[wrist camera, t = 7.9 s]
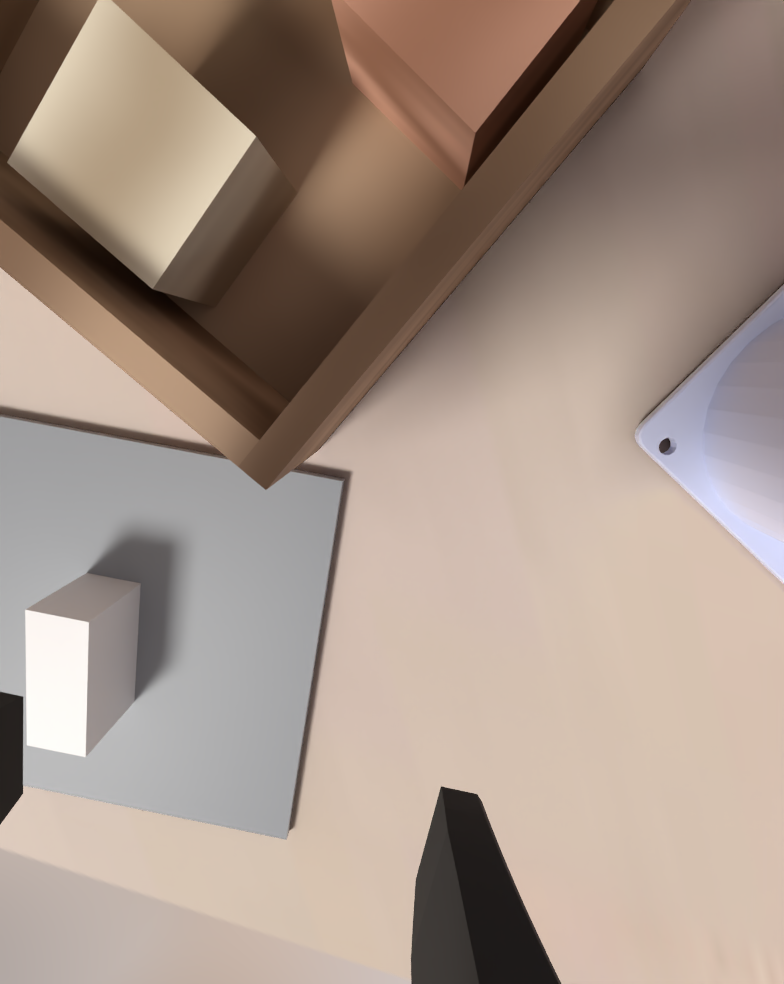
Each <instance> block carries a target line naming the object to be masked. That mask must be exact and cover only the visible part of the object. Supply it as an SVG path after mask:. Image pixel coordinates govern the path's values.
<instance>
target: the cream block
mask: <svg viewBox="0 0 784 984" xmlns="http://www.w3.org/2000/svg"><path fill="white" fill-rule="evenodd" d="M7 163H8V164H9V165H10V166H11V167H13V168H14V169H15V170H16V171H17V172H18V173H19V174H21V175H22V176H23V177H24V178H25V179H26V180H27V181H29V182H30V183H31V184H32V185H33V186H34V187H36V188H37V189H38V190H39V191H40V192H41V193H42V194H44V195H45V196H46V197H47V198H48V199H49V200H50V201H52V202H53V203H54V204H55V205H56V206H57V207H59V208H60V209H61V210H62V211H63V212H64V213H65V214H67V215H68V216H69V217H70V218H71V219H72V220H73V221H75V222H76V223H77V224H78V225H79V226H80V227H82V228H83V229H84V230H85V231H86V232H87V233H88V234H90V235H91V236H92V237H93V238H94V239H95V240H96V241H98V242H99V243H100V244H101V245H102V246H103V247H105V248H106V249H107V250H108V251H109V252H110V253H111V254H113V255H114V256H115V257H116V258H117V259H118V260H119V261H121V262H122V263H123V264H124V265H125V266H126V267H128V268H129V269H130V270H131V271H132V272H133V273H134V274H136V275H137V276H138V277H139V278H140V279H141V280H142V281H144V282H145V283H146V284H147V285H148V286H149V287H151V288H152V289H154V290H157V291H160V292H164V293H167V294H171V295H174V296H178V297H181V298H184V299H188V300H191V301H195V302H198V303H202V304H205V305H208V306H212V307H216V306H217V304H218V303H219V301H220V300H221V299H222V297H223V296H224V295H225V293H226V292H227V290H228V289H229V288H230V286H231V285H232V283H233V282H234V281H235V279H236V278H237V276H238V275H239V274H240V272H241V271H242V270H243V268H244V267H245V265H246V264H247V263H248V261H249V260H250V258H251V257H252V256H253V254H254V253H255V252H256V250H257V249H258V247H259V246H260V245H261V243H262V242H263V240H264V239H265V238H266V236H267V235H268V234H269V232H270V231H271V229H272V228H273V227H274V225H275V224H276V222H277V221H278V220H279V218H280V217H281V216H282V214H283V213H284V211H285V210H286V209H287V207H288V206H289V204H290V203H291V202H292V200H293V199H294V198H295V196H296V195H297V192H296V190H295V189H294V188H293V186H292V185H291V184H290V182H289V181H288V179H287V178H286V177H285V175H284V174H283V173H282V171H281V170H280V168H279V167H278V166H277V164H276V163H275V162H274V160H273V159H272V157H271V156H270V155H269V153H268V152H267V150H266V149H265V148H264V146H263V145H262V144H261V142H260V141H259V139H258V138H257V137H256V136H255V135H254V134H253V133H252V132H251V131H250V130H249V129H248V128H247V127H246V126H245V125H244V124H243V123H241V122H240V121H239V120H238V119H237V118H236V117H235V116H234V115H233V114H232V113H231V112H230V111H229V110H228V109H227V108H226V107H224V106H223V105H222V104H221V103H220V102H219V101H218V100H217V99H216V98H215V97H214V96H213V95H212V94H211V93H210V92H209V91H207V90H206V89H205V88H204V87H203V86H202V85H201V84H200V83H199V82H198V81H197V80H196V79H195V78H194V77H193V76H192V75H190V74H189V73H188V72H187V71H186V70H185V69H184V68H183V67H182V66H181V65H180V64H179V63H178V62H177V61H176V60H174V59H173V58H172V57H171V56H170V55H169V54H168V53H167V52H166V51H165V50H164V49H163V48H162V47H161V46H160V45H159V44H157V43H156V42H155V41H154V40H153V39H152V38H151V37H150V36H149V35H148V34H147V33H146V32H145V31H144V30H143V29H142V28H140V27H139V26H138V25H137V24H136V23H135V22H134V21H133V20H132V19H131V18H130V17H129V16H128V15H127V14H126V13H125V12H123V11H122V10H121V9H120V8H119V7H118V6H117V5H116V4H115V3H114V2H113V1H112V0H98V1H97V2H96V4H95V6H94V8H93V10H92V11H91V13H90V15H89V17H88V19H87V20H86V22H85V24H84V26H83V28H82V29H81V31H80V33H79V35H78V36H77V38H76V40H75V42H74V44H73V45H72V47H71V49H70V51H69V53H68V54H67V56H66V58H65V60H64V62H63V63H62V65H61V67H60V69H59V70H58V72H57V74H56V76H55V78H54V79H53V81H52V83H51V85H50V87H49V88H48V90H47V92H46V94H45V96H44V97H43V99H42V101H41V103H40V105H39V106H38V108H37V110H36V112H35V113H34V115H33V117H32V119H31V121H30V122H29V124H28V126H27V128H26V130H25V131H24V133H23V135H22V137H21V139H20V140H19V142H18V144H17V146H16V147H15V149H14V151H13V153H12V155H11V156H10V158H9V160H8V162H7Z"/></svg>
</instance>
